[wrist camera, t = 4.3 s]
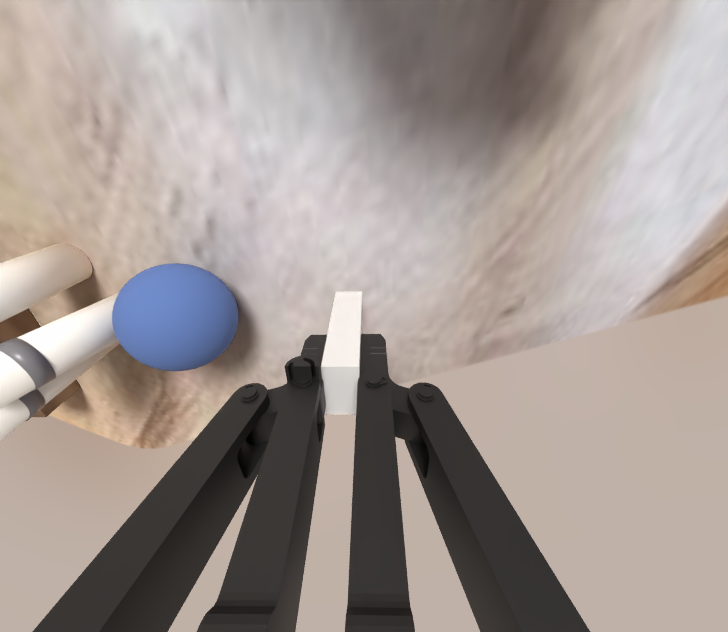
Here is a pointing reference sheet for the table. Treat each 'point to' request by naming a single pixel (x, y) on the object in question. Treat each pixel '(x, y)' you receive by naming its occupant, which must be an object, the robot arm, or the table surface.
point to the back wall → (19, 327)
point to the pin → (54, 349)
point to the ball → (175, 317)
